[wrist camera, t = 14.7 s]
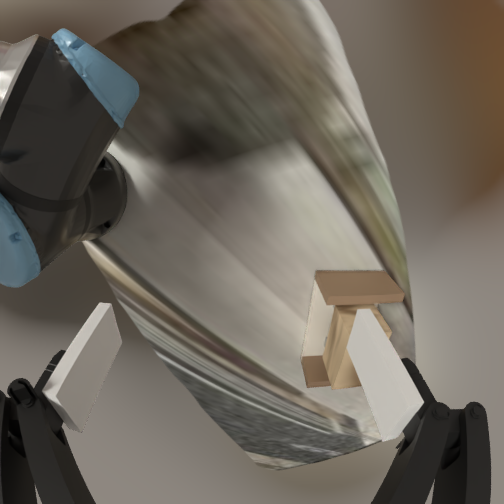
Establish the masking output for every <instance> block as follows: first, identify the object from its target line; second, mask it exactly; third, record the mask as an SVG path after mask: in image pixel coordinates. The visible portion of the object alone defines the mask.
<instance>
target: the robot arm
mask: <svg viewBox="0 0 504 504" xmlns="http://www.w3.org/2000/svg"><path fill="white" fill-rule="evenodd" d="M138 96H139V85H138V83H137V81H136V80H135V79H134V78H133V77H132V76H131V75H129V74H128V73H127V72H126V71H124V70H123V69H122V68H121V67H119V66H118V65H117V64H115V63H114V62H113V61H111V60H110V59H109V58H107V57H106V56H105V55H103V54H102V53H100V52H99V51H98V50H96V49H95V48H93V47H92V46H90V45H89V44H87V43H86V42H84V41H83V40H82V39H80V38H78V37H77V36H76V35H74V34H73V33H71V32H70V31H68V30H67V29H60V30H59V31H58V32H57V33H55V34H53V36H52V40H49V39H47V38H44V37H41V36H39V35H34V36H31V37H29V38H27V39H25V40H23V41H21V42H19V43H16V44H9V43H6V42H2V41H0V283H1V284H3V285H5V286H8V287H20V286H23V285H24V284H25V283H27V282H29V281H30V280H32V279H33V278H35V277H37V276H38V275H39V273H40V272H41V271H42V270H43V269H44V268H46V267H47V266H48V265H49V264H50V263H51V262H52V261H54V260H55V259H56V258H57V257H58V256H60V255H61V254H62V253H63V252H64V251H66V250H67V249H68V248H69V247H71V246H72V245H73V244H74V243H76V242H77V241H84V240H92V239H96V238H98V237H101V236H103V235H104V234H106V233H107V232H108V231H110V230H111V229H112V228H113V227H114V226H115V225H116V224H117V223H118V222H119V220H120V218H121V217H122V214H123V212H124V209H125V206H126V200H127V187H126V181H125V177H124V174H123V171H122V169H121V167H120V165H119V164H118V162H117V161H116V160H115V158H114V157H113V156H112V155H111V154H109V153H108V152H107V149H108V148H109V146H110V144H111V142H112V141H113V139H114V137H115V136H116V134H117V132H118V131H119V129H120V128H121V129H122V128H123V126H124V121H125V119H126V117H127V115H128V114H129V112H130V110H131V109H132V107H133V106H134V104H135V102H136V101H137V99H138ZM121 344H122V340H121V337H120V333H119V330H118V327H117V323H116V320H115V316H114V312H113V308H112V305H111V304H109V303H99V304H98V305H97V307H96V308H95V310H94V311H93V312H92V314H91V315H90V317H89V318H88V320H87V321H86V322H85V324H84V325H83V327H82V328H81V330H80V331H79V333H78V334H77V336H76V337H75V339H74V340H73V342H72V343H71V345H70V346H69V348H68V349H67V351H64V350H61V351H59V352H58V353H57V354H56V355H55V356H54V357H53V358H52V360H51V361H50V364H49V365H48V366H47V368H46V370H45V371H44V372H43V374H42V376H41V377H40V379H39V381H38V382H37V384H36V386H35V388H34V389H33V387H32V386H31V384H30V382H29V381H28V380H26V379H23V378H19V379H16V380H14V381H13V382H12V383H11V384H10V385H9V387H8V390H7V393H8V395H9V396H10V397H11V398H8V397H6V395H5V394H4V393H3V392H2V391H1V390H0V504H37V498H36V492H35V485H36V488H37V491H38V494H39V497H40V499H41V502H42V504H96V503H95V501H94V499H93V497H92V496H91V494H90V492H89V490H88V488H87V486H86V484H85V481H84V479H83V477H82V475H81V473H80V471H79V468H78V466H77V464H76V461H75V459H74V457H73V454H72V452H71V449H70V447H69V444H68V441H67V438H66V436H65V433H64V430H63V429H62V427H61V426H62V424H63V422H64V423H65V424H66V425H67V427H68V428H69V429H72V430H75V431H78V432H81V433H82V432H83V429H84V427H85V424H86V422H87V419H88V417H89V414H90V412H91V409H92V407H93V405H94V402H95V400H96V398H97V395H98V393H99V391H100V389H101V386H102V384H103V382H104V380H105V377H106V375H107V373H108V371H109V369H110V367H111V365H112V362H113V360H114V358H115V356H116V354H117V352H118V350H119V348H120V346H121ZM346 348H347V350H348V353H349V355H350V358H351V360H352V362H353V365H354V367H355V370H356V372H357V375H358V377H359V380H360V382H361V385H362V387H363V390H364V392H365V395H366V398H367V400H368V403H369V405H370V408H371V411H372V413H373V416H374V419H375V421H376V424H377V427H378V430H379V432H380V435H381V438H382V441H387V440H391V439H394V438H397V437H398V436H399V435H400V434H401V432H402V431H403V433H404V435H405V437H404V439H402V441H401V442H400V443H399V444H398V445H397V447H396V448H397V449H398V448H399V450H398V452H397V454H396V456H395V458H394V460H393V463H392V465H391V467H390V469H389V471H388V473H387V475H386V477H385V479H384V481H383V483H382V485H381V486H380V488H379V490H378V492H377V494H376V496H375V497H374V499H373V501H372V502H371V504H425V502H426V500H427V497H428V495H429V492H430V490H431V487H432V484H433V482H434V479H435V482H434V490H433V498H432V504H490V495H491V457H490V441H489V431H488V422H487V414H486V411H485V408H484V407H483V406H482V405H481V404H480V403H478V402H470V403H469V404H467V405H466V407H465V408H464V409H450V408H449V407H448V406H447V405H445V404H443V403H440V402H437V401H436V400H435V398H434V396H433V395H432V393H431V391H430V389H429V387H428V386H427V384H426V382H425V380H423V377H422V375H421V374H420V373H419V370H418V369H417V367H416V365H415V364H414V363H413V362H412V361H411V360H409V359H408V358H403V359H400V358H399V356H398V354H397V352H396V351H395V349H394V347H393V346H392V344H391V342H390V341H389V339H388V337H387V336H386V334H385V332H384V331H383V329H382V327H381V326H380V324H379V322H378V321H377V319H376V318H375V316H374V314H373V313H372V311H371V310H370V309H357V313H356V316H355V320H354V324H353V327H352V331H351V334H350V337H349V341H348V344H347V347H346ZM34 483H35V484H34Z"/></svg>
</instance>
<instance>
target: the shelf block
mask: <svg viewBox="0 0 504 504" xmlns="http://www.w3.org/2000/svg"><path fill="white" fill-rule="evenodd" d="M357 309H370V310H371V311H372V313H373V314H374V316H375V318H376V319H377V321H378V322H379V324H380V326H381V327H382V329H383V331H384V332H385V334H386V336H387V337H388V339H390V336H391V333H392V331H391V329H390V328H389V326H388V325H387V323H386V322H385V320H384V319H383V317H382V316H381V314H380V312H379V311H378V309H377V308H376V306H375V305H374V304H355V305H335V307H334V312H333V316H332V320H331V325H330V329H329V333H328V337H327V341H326V345H325V349H324V353H323V357H322V358H323V361H324V364H325V368H326V371H327V374H328V377H329V381H330V384H331V387H332V390H333V389H342V388H350V387H357V386H362V385H361V382H360V380H359V377H358V375H357V372H356V370H355V367H354V365H353V362H352V360H351V358H350V355H349V353H348V350H347V348H346V347H347V344H348V341H349V337H350V334H351V331H352V327H353V324H354V320H355V316H356V313H357Z"/></svg>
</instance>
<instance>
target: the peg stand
mask: <svg viewBox="0 0 504 504" xmlns="http://www.w3.org/2000/svg"><path fill="white" fill-rule="evenodd" d="M404 295H405V293H404V292H403V291H402V290H401V289H400V288H399V286H398V285H397V284H396V283H395V282H394V281H393V280H392V279H391V277H390V276H389V275H388V274H387V273H386V272H385V271H323V270H316V272H315V279H314V286H313V292H312V298H311V304H310V310H309V316H308V322H307V327H306V333H305V338H304V343H303V348H302V353H301V363H302V367H303V372H304V376H305V381H306V385H307V388H310V387H323V386H331V384H330V381H329V377H328V374H327V371H326V368H325V364H324V361H323V358H322V357H323V353H324V349H325V345H326V341H327V337H328V333H329V329H330V325H331V320H332V316H333V312H334V307H335V305H355V304H374V305H375V306H376V308H377V307H378V303H394V302H402V301H403V298H404Z"/></svg>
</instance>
